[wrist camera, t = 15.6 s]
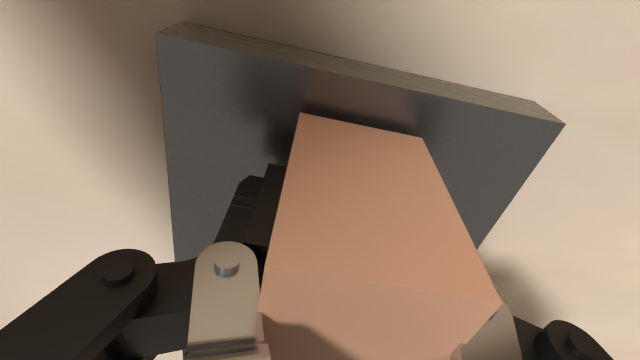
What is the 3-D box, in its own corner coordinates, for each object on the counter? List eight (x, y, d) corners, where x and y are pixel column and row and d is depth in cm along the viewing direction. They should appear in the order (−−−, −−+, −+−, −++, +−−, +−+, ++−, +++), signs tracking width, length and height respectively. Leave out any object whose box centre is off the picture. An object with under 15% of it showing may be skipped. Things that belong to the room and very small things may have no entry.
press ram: (299, 112, 10) (265, 263, 5) (422, 138, 10) (502, 303, 5) (278, 227, 13) (243, 396, 8) (375, 244, 13) (399, 417, 8)
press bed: (183, 21, 11) (151, 34, 9) (534, 101, 12) (571, 128, 10) (195, 359, 24) (184, 393, 23) (359, 382, 26) (361, 416, 24)
